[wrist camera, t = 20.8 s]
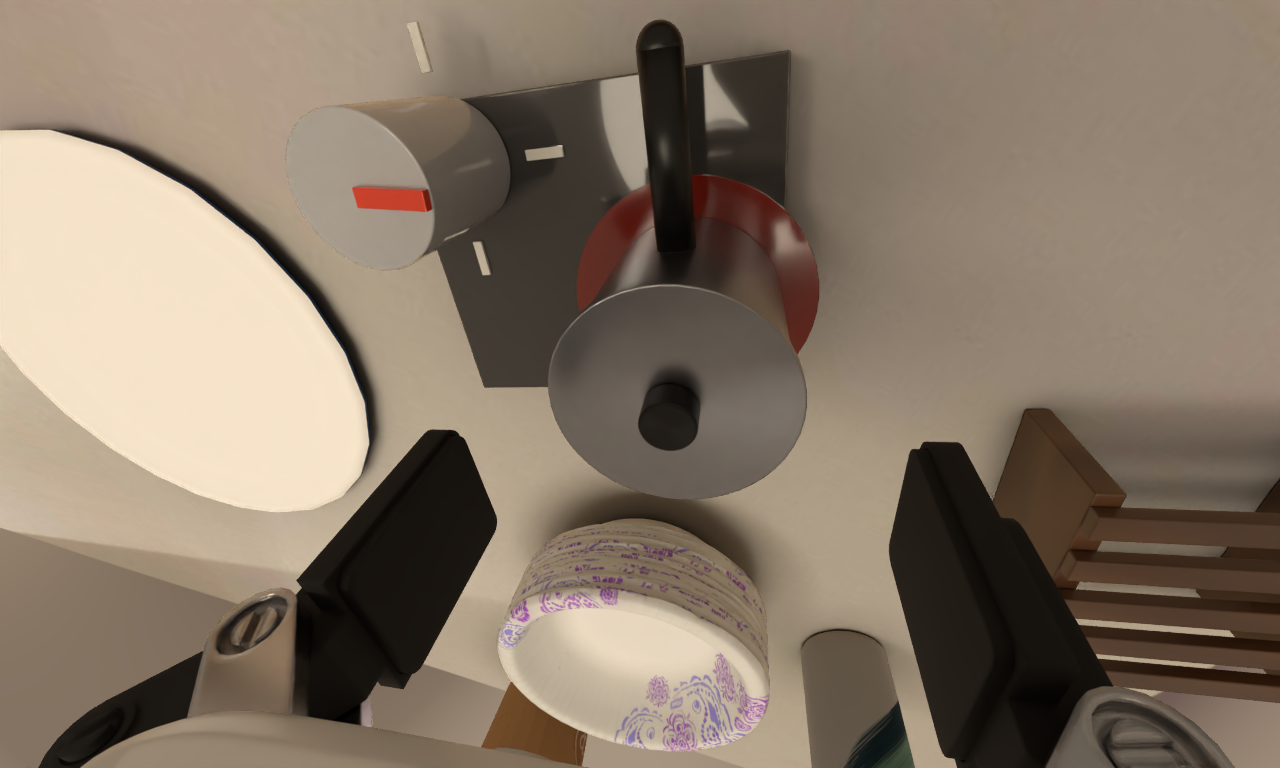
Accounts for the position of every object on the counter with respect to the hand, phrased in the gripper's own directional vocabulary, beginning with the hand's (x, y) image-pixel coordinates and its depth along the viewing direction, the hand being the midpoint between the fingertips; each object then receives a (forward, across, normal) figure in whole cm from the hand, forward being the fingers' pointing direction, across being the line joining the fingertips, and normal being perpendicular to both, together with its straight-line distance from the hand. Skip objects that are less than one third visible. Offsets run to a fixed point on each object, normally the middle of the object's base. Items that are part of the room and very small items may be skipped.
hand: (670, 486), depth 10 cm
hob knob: (+11, +9, -6) cm, 15 cm away
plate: (+13, +32, +4) cm, 35 cm away
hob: (+13, +5, -3) cm, 14 cm away
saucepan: (+11, +1, -2) cm, 11 cm away
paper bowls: (+13, +5, +20) cm, 25 cm away
